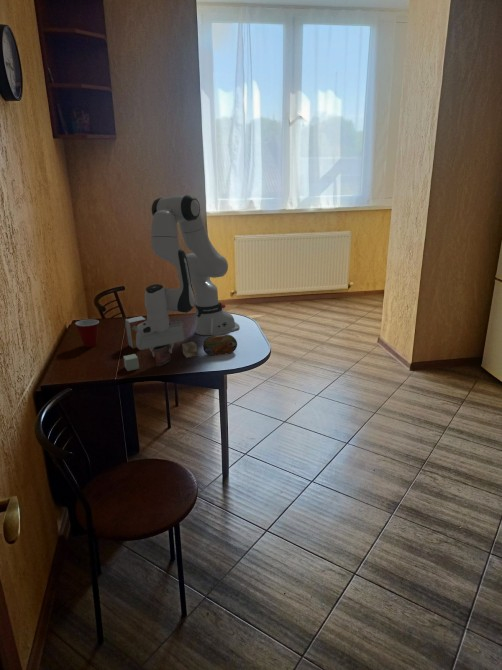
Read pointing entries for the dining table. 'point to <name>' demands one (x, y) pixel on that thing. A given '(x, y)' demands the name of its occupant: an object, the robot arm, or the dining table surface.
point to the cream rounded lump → (189, 349)
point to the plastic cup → (88, 331)
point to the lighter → (162, 355)
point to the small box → (133, 329)
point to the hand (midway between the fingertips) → (162, 354)
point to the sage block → (131, 362)
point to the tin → (219, 345)
